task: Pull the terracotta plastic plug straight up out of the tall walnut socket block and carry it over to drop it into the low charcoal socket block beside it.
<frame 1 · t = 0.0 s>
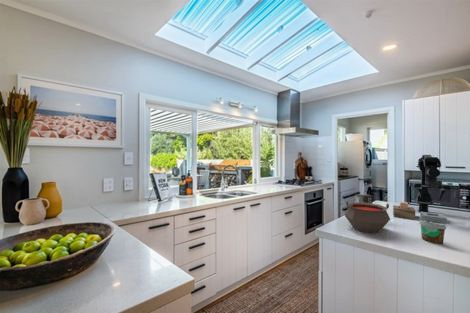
hand: (430, 199, 151), 15 cm above the worktop, fingers open, 9 cm apart
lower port: (432, 219, 153), on the worktop
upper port: (403, 216, 162), on the worktop
plug: (403, 212, 162), point 3 cm above the worktop, touching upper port
faceted brown planter: (366, 229, 135), on the worktop
food container: (428, 241, 117), on the worktop
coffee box: (363, 218, 157), on the worktop
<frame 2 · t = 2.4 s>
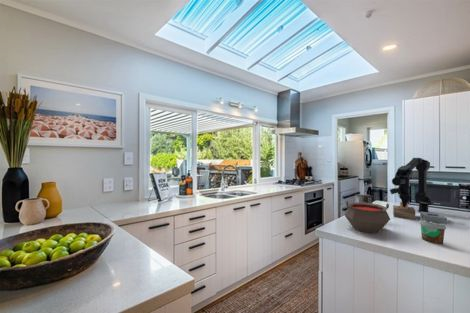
hand: (403, 206, 162), 7 cm above the worktop, fingers closed on plug, 4 cm apart
plug: (403, 212, 162), point 3 cm above the worktop, touching gripper, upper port
everything else where it was.
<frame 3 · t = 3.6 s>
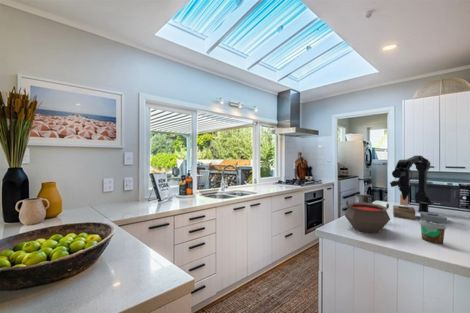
hand: (403, 199, 162), 12 cm above the worktop, fingers closed on plug, 4 cm apart
plug: (403, 204, 162), point 8 cm above the worktop, touching gripper
everything else where it was.
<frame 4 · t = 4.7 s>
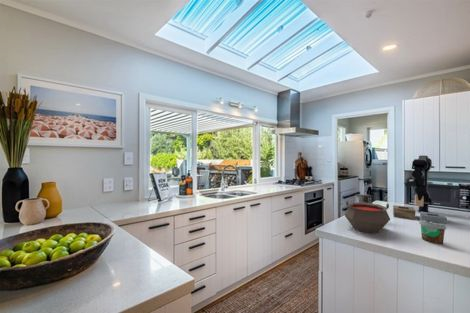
hand: (419, 199, 157), 13 cm above the worktop, fingers closed on plug, 4 cm apart
plug: (418, 205, 157), point 9 cm above the worktop, touching gripper
everything else where it was.
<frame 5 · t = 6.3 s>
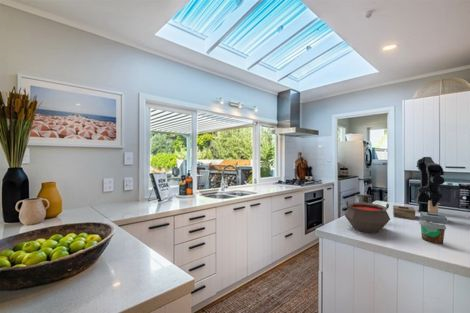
hand: (433, 205, 153), 10 cm above the worktop, fingers closed on plug, 4 cm apart
plug: (433, 211, 153), point 6 cm above the worktop, touching gripper
everything else where it was.
when the fingers open (6 cm above the worktop, at t = 7.4 s): plug drops 1 cm, resting on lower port.
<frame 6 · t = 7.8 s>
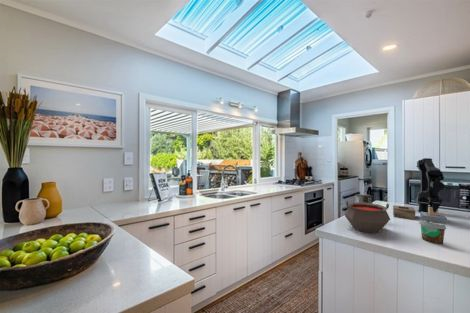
hand: (433, 210, 153), 6 cm above the worktop, fingers open, 9 cm apart
plug: (432, 218, 153), point 1 cm above the worktop, touching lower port
everything else where it was.
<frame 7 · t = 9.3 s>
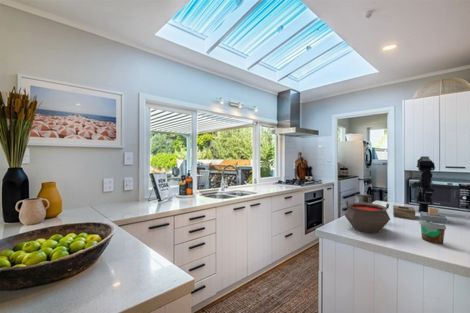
hand: (425, 200, 158), 12 cm above the worktop, fingers open, 9 cm apart
nothing on the worktop moved.
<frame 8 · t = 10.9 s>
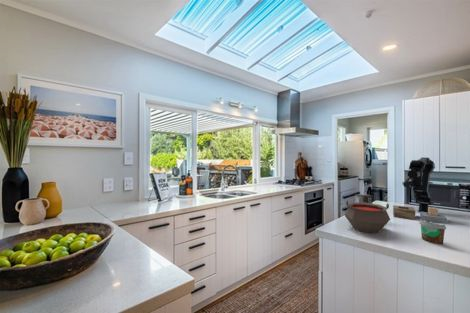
hand: (416, 198, 164), 12 cm above the worktop, fingers open, 9 cm apart
nothing on the worktop moved.
at the end: plug 0.0 cm off-centre on the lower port, point 1.0 cm above the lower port's base; plug tilted 0°; the gripper is holding nothing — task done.
